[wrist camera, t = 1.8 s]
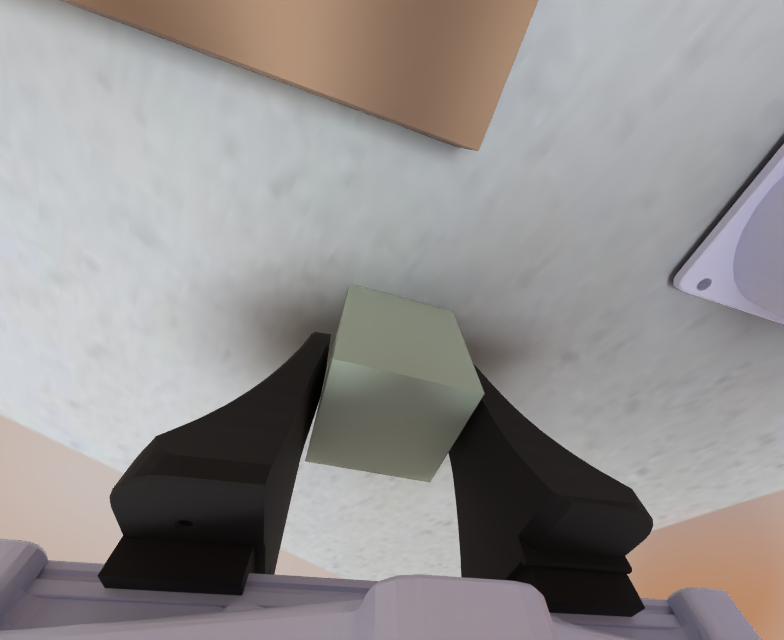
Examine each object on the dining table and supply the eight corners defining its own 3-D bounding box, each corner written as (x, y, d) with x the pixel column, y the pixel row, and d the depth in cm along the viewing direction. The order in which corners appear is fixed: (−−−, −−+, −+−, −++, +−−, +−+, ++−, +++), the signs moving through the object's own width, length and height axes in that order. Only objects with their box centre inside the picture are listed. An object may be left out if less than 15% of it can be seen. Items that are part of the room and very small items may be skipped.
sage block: (452, 310, 14) (484, 393, 9) (417, 386, 16) (429, 482, 11) (350, 282, 13) (332, 358, 8) (328, 366, 15) (305, 461, 11)
